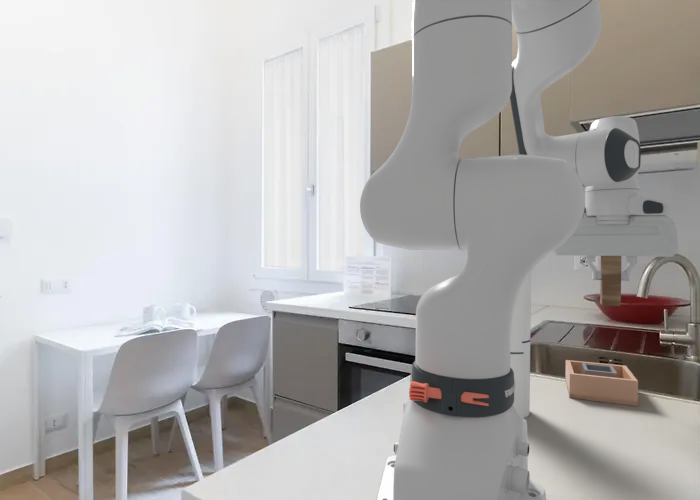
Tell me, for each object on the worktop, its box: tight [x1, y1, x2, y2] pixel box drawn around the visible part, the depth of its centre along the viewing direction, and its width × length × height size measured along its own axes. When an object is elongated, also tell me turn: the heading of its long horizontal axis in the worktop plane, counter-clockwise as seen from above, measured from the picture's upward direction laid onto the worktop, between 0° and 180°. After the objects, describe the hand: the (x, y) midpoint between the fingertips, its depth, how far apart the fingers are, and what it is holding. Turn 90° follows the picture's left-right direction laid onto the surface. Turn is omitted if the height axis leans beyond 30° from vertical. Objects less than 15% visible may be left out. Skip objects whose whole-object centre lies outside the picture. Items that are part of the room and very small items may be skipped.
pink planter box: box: [564, 359, 639, 407], centre depth 86 cm, size 11×11×5 cm
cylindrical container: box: [510, 272, 532, 419], centre depth 76 cm, size 7×7×25 cm
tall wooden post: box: [599, 256, 622, 307], centre depth 82 cm, size 3×3×12 cm
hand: (610, 280), depth 82 cm, fingers closed on tall wooden post, 3 cm apart
